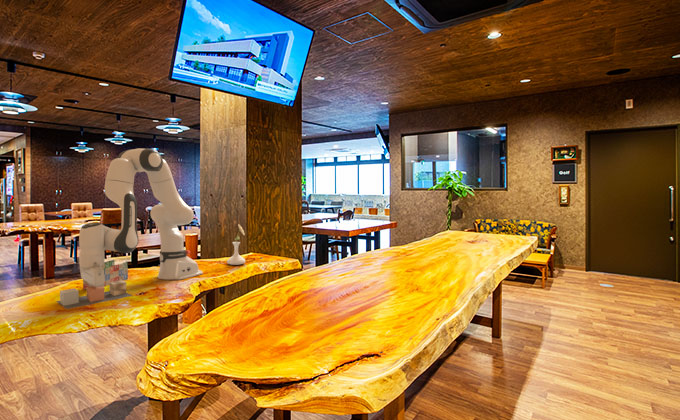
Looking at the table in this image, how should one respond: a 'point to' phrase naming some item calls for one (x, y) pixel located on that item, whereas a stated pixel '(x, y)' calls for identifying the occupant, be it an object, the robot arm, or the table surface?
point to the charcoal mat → (85, 301)
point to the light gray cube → (69, 296)
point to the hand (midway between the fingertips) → (92, 292)
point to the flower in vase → (236, 251)
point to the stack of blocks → (112, 272)
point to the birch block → (117, 287)
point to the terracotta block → (95, 293)
